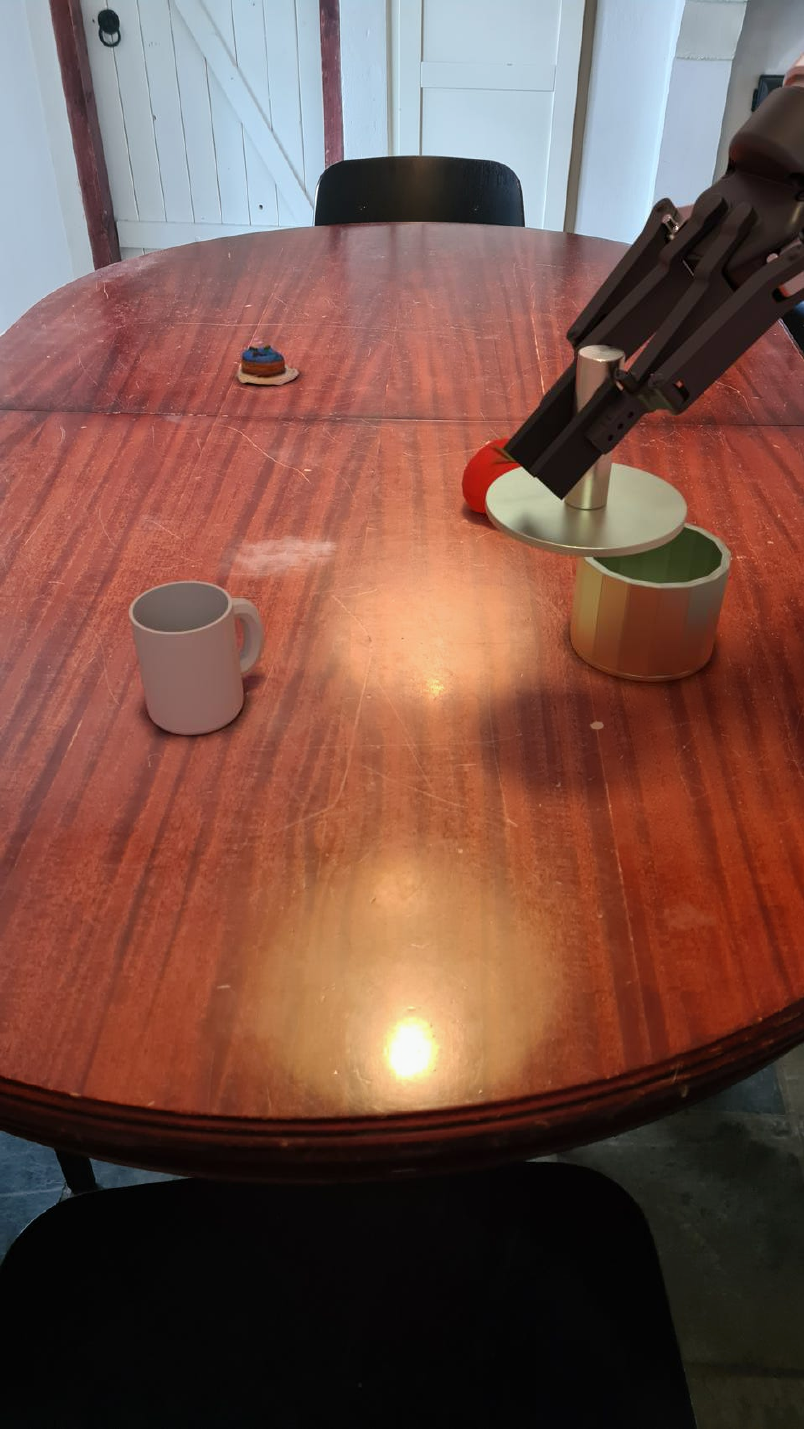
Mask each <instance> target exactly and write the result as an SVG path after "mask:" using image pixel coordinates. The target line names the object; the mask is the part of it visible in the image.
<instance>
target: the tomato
mask: <svg viewBox="0 0 804 1429" xmlns="http://www.w3.org/2000/svg"><path fill="white" fill-rule="evenodd" d="M510 439H511V438H507V437H505V438H499V439H494V440H493V441H491V442H489V443H487V444H486V445H484V446H483V447H481V448H479V450H477V452H476V453H475V455H474V456H472V457H471V458H470V459H469V460H468V461H467V462H468V463H467V464H466V466H465V468H464V470H463V474H462V479H461V480H462V481H461V489H462V490H461V491H462V496H463V498H464V500H465V502H466V504H467V506H468V507H469V509H470V510H472V511H474V512H476V513H482V514H487V513H486V509H485V499H486V493H487V491H488V488H489V487H490V486H491V484H492V483H493V482H494V481H495V480H496V479H497V478H499V477H500V476H502V475H503V474H505V473H507V472H509V471H511V470H514V469H516V468H519V467H521V466H520V465H519V464H518V463H517V462H516V461H515V460H514V459H513V458H512V457H511V456H510V455H509V454H508V453H507V452H505V451H504V450H503V449H502V448H503V447H504V446H505V445H506V444H507V443H508V441H509V440H510Z"/></svg>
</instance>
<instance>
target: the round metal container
mask: <svg viewBox="0 0 804 1429" xmlns="http://www.w3.org/2000/svg"><path fill="white" fill-rule="evenodd" d="M732 556H733V554H732V552H731V551H730V550H729V548H728V547H727V545H726V544H725V542H724V541H723V540H722V539H721V538H719V537H717V536H716V535H714V534H713V533H711V532H710V531H708V530H706V529H705V528H702V527H700V526H697V525H693V524H691V523H688V522H685V525H684V528H683V529H682V530H681V532H680V533H679V534H678V535H677V536H676V537H675V538H674V539H672V540H671V541H669V542H668V543H666V544H664V545H662V546H660V547H658V548H655V549H652V550H649V551H646V552H641V553H637V554H632V555H625V556H616V557H579V556H577V562H576V571H575V581H574V589H573V597H572V598H573V599H572V607H571V615H570V616H571V617H570V625H569V634H570V642H571V646H572V648H573V650H574V651H575V653H576V655H578V656H579V657H580V658H581V660H583V661H584V662H585V663H587V664H588V665H590V666H591V667H593V668H595V669H597V670H598V671H600V672H602V673H605V674H607V675H610V676H613V677H617V678H620V679H625V680H628V681H636V682H645V683H648V682H649V683H651V682H652V683H657V682H660V683H661V682H670V681H675V680H679V679H684V678H687V677H690V676H691V675H693V674H695V673H697V672H699V671H700V670H701V669H703V668H704V666H706V664H707V663H708V662H709V660H710V658H711V656H712V653H713V649H714V643H715V640H716V634H717V629H718V625H719V621H720V616H721V612H722V611H721V610H722V606H723V601H724V596H725V594H726V593H725V592H726V587H727V583H728V578H729V573H730V569H731V564H732Z"/></svg>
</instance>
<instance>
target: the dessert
mask: <svg viewBox="0 0 804 1429" xmlns="http://www.w3.org/2000/svg"><path fill="white" fill-rule="evenodd" d="M240 358H241V360H240V361H241V364H240V367H239V369H238V371H237V379H238V382H240V383H241V384H246V383H250V384H251V383H252V384H257V385H277V386H281V385H284V384H286V383H288V382H290V381H292V380H295V378H297V377H298V375H299V374H300V373H299V371H298V370H297V369H296V367H293V368H291V367H290V366H289V365H287V364H286V360H285V357H284V355H283V354H282V353H280V352H278V351H277V350H275V349H274V348H272V346H271V344H267V345H265V346H264V347H255V346H252V345H250V346H249V347H248V349H246V350H244V352H242V354H241V355H240Z"/></svg>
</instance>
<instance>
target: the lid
mask: <svg viewBox="0 0 804 1429" xmlns="http://www.w3.org/2000/svg"><path fill="white" fill-rule="evenodd" d="M624 362H625V352H624V351H623V350H621V349H619V348H616V347H612V346H606V345H593V346H587V347H584V348H582V349H580V350H579V352H578V361H577V371H576V382H575V392H574V402H573V412H572V420H573V419H574V417H575V416H576V415H577V414H578V413H579V412H580V410H581V409H582V408H583V407H584V406H585V405H586V404H587V402H588V401H589V400H590V399H591V398H592V397H593V395H594V394H595V393H596V392H597V391H598V390H599V389H600V387H601V386H602V385H603V384H604V383H605V382H606V380H607V379H609V380H610V381H612V382H614V383H615V384H616V385H617V386H618V387H619V388H620V390H622V386H621V385H620V384H619V382H618V381H617V380H616V379H615V378H614V371H615V370H616V368H618V369H622V370H624V371H625V363H626V362H625V363H624ZM614 449H615V448H614ZM614 449H613V450H612V451H610V452H609V453H607V454H606V455H604V454H602V456H601V457H600V458H599V459H598V460H597V461H596V462H595V463H594V465H593V466H592V467H591V468H590V469H589V470H588V471H587V473H586V474H585V475H584V476H583V477H582V478H581V479H580V480H579V482H578V483H577V484H576V485H575V486H574V487H573V488H572V489H571V491H570V492H569V493H568V494H567V495H566V496H565V497H564V499H563V500H562V501H561V500H560V499H559V498H558V497H557V496H555V495H554V494H553V493H552V492H551V491H550V490H549V489H548V488H547V487H546V486H545V485H544V484H543V483H542V482H541V481H539V480H538V479H537V478H536V477H535V478H534V477H533V476H531V475H530V474H529V473H528V472H527V471H526V470H525V469H524V468H523V467H519V468H516V469H514V470H511V471H509V472H507V473H505V474H503V475H502V476H500V477H499V478H497V479H496V480H495V481H494V482H493V483H492V484H491V486H490V487H489V488H488V491H487V493H486V499H485V509H486V513H485V514H486V515H487V517H488V520H489V521H490V522H491V523H492V525H493V526H494V527H495V528H496V529H497V530H499V532H501V533H502V534H504V535H505V536H506V537H508V538H510V539H513V540H514V541H516V542H518V543H520V544H523V545H525V546H528V547H531V548H534V549H537V550H540V551H543V552H547V553H553V554H558V555H564V556H570V557H578V556H579V557H616V556H625V555H632V554H637V553H641V552H646V551H649V550H652V549H655V548H658V547H660V546H662V545H664V544H666V543H668V542H669V541H671V540H672V539H674V538H675V537H676V536H677V535H678V534H679V533H680V532H681V530H682V529H683V528H684V525H685V523H687V517H688V505H687V501H686V500H685V498H684V496H683V495H682V493H680V491H679V490H678V489H677V488H676V487H674V486H673V485H672V484H671V483H669V482H667V481H666V480H664V479H663V478H660V477H659V476H657V475H655V474H652V473H650V472H647V471H644V470H642V469H640V468H636V467H632V466H629V465H626V464H621V463H616V462H613V458H614V457H613V456H614Z"/></svg>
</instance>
